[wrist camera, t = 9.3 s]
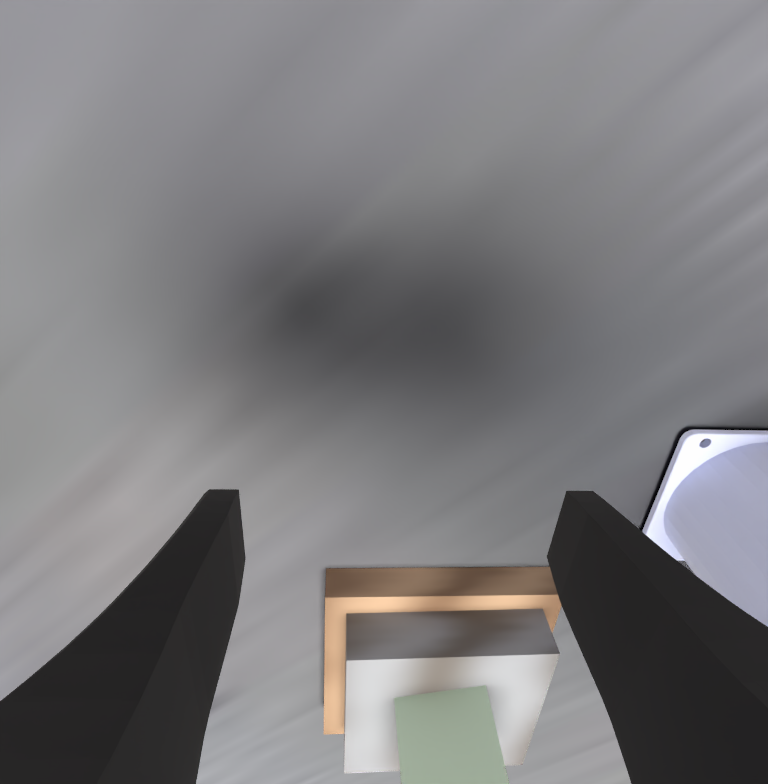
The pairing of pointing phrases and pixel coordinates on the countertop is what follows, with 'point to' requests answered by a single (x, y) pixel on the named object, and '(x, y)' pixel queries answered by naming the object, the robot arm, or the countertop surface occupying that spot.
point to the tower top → (443, 674)
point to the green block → (449, 738)
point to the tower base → (420, 606)
